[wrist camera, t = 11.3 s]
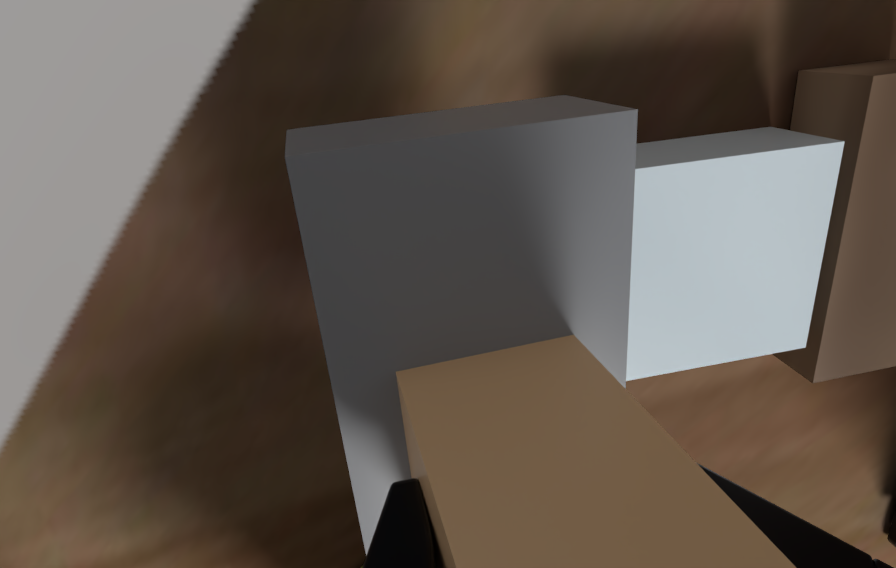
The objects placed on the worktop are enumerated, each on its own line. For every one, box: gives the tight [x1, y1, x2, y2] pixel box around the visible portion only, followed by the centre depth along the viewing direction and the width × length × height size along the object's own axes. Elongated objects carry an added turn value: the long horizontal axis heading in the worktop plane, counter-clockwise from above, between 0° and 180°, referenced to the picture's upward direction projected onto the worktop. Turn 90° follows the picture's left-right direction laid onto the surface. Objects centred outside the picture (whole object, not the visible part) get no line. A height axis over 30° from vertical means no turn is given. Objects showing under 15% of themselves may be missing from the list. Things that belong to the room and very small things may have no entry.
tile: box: [626, 127, 845, 381], centre depth 17 cm, size 6×6×3 cm
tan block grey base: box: [285, 95, 796, 568], centre depth 8 cm, size 5×10×10 cm, turn 5°
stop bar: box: [773, 59, 896, 383], centre depth 17 cm, size 3×9×2 cm, turn 5°
